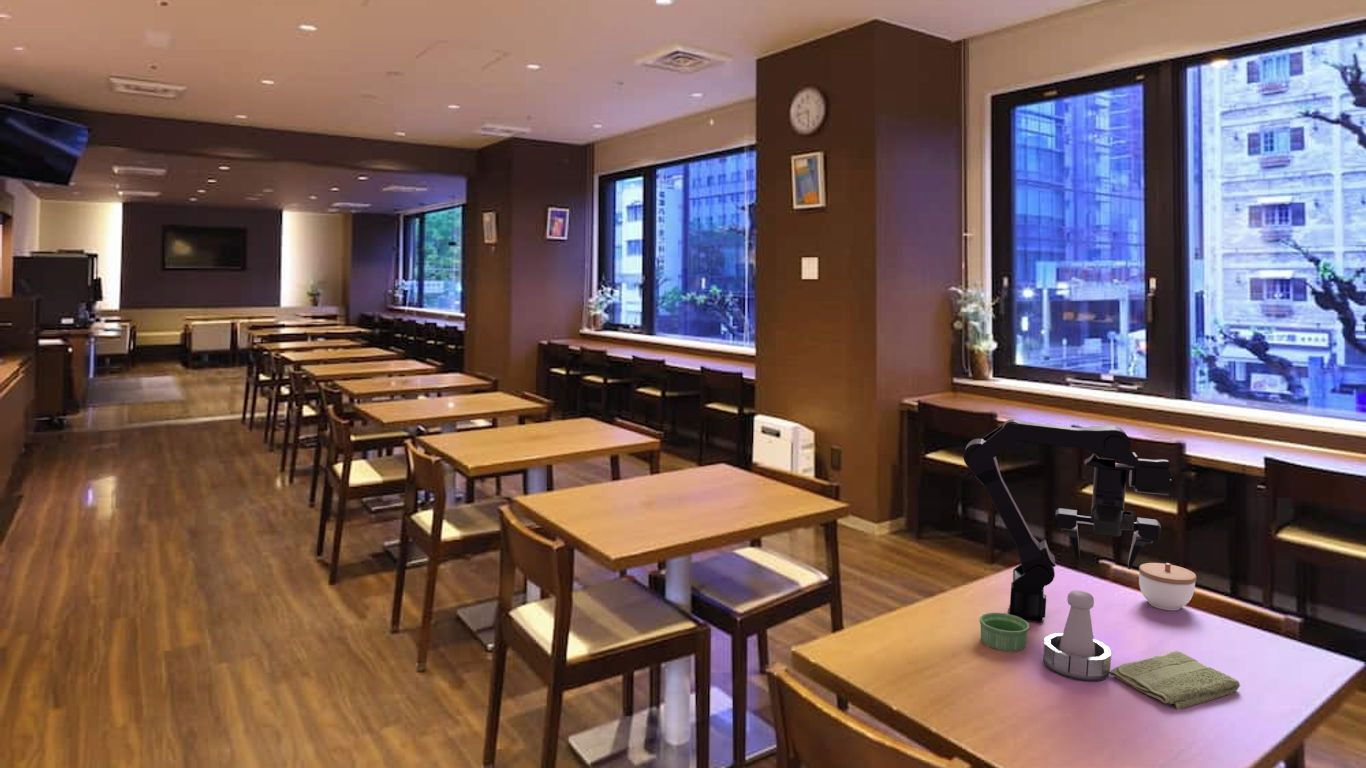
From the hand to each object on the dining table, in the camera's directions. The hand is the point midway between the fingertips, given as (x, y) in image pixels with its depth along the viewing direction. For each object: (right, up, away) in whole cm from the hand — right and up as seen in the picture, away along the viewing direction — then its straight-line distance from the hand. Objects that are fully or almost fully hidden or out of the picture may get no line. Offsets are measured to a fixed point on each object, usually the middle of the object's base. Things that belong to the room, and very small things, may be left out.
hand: (1103, 565), depth 164 cm
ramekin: (-23, -14, -6) cm, 27 cm away
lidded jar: (+20, -12, +13) cm, 27 cm away
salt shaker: (-13, -14, -16) cm, 25 cm away
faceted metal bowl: (-13, -15, -16) cm, 26 cm away
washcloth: (+1, -17, -22) cm, 28 cm away
